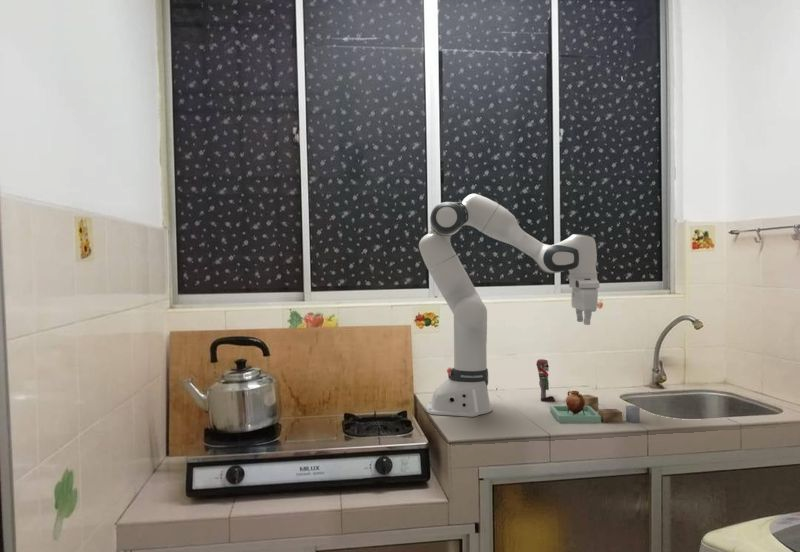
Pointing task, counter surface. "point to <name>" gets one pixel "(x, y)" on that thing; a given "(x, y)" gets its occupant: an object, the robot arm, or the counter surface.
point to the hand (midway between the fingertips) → (583, 323)
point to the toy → (544, 380)
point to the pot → (575, 402)
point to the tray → (568, 417)
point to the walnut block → (610, 415)
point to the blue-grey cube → (633, 414)
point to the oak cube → (591, 401)
